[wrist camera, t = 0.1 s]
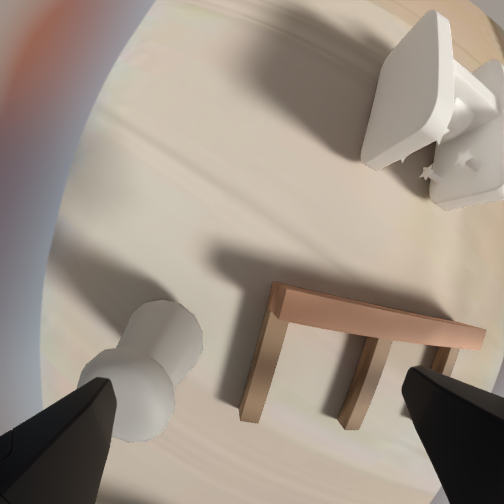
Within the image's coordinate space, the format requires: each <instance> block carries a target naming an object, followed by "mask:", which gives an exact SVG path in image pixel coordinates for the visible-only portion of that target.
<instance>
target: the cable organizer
mask: <svg viewBox="0 0 504 504" xmlns="http://www.w3.org/2000/svg"><path fill="white" fill-rule="evenodd" d="M434 141H436V148H435V155H434V162H433V164H431V165H430V166H429V167H428V168H426V167H423V173H422V174H421V176H420V177H424V178H425V181H426V179H427V177H429V178H430V179H431V181H430V187H429V194H430V199H431V201H432V202H433V203H434V204H436V205H437V206H439V207H440V208H442V209H443V210H445V211H449V210H454V209H459V208H464V207H470V206H475V205H480V204H485V203H491V202H496V201H501V200H504V66H503V65H502V64H501V63H500V62H499V61H497V60H494V59H493V60H490V61H488V62H486V63H485V64H484V65H482V66H481V67H479V68H478V69H476V70H475V71H473V72H472V73H470V72H469V71H467V70H466V69H465V68H464V67H463V66H461V65H460V64H459V63H458V62H457V61H455V60H454V59H453V51H452V39H451V29H450V23H449V21H448V19H446V18H445V17H444V16H442V15H441V14H439V13H438V12H437V11H435V10H429V11H428V12H427V13H426V14H425V15H424V16H423V17H422V18H421V19H420V20H419V21H418V22H417V23H416V25H415V26H414V27H413V28H412V29H411V30H410V31H409V32H408V33H407V35H406V36H405V37H404V38H403V39H402V40H401V41H400V42H399V44H398V45H397V46H396V47H395V48H394V49H393V50H392V51H391V53H390V54H389V55H388V56H387V58H386V59H385V61H384V63H383V66H382V68H381V71H380V75H379V80H378V85H377V89H376V93H375V98H374V102H373V106H372V110H371V114H370V118H369V122H368V126H367V130H366V134H365V138H364V142H363V145H362V149H361V162H362V164H364V165H366V166H368V167H370V168H372V169H374V170H375V171H378V170H381V169H382V168H384V167H386V166H388V165H390V164H392V163H394V162H396V161H398V160H401V161H402V163H403V162H404V160H405V158H406V157H407V156H408V155H410V154H411V153H413V152H415V151H417V150H419V149H421V148H423V147H424V146H426V145H428V144H430V143H432V142H434ZM432 165H433V169H432ZM420 177H419V178H420Z"/></svg>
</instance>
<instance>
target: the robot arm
mask: <svg viewBox="0 0 504 504" xmlns="http://www.w3.org/2000/svg"><path fill="white" fill-rule="evenodd" d="M402 395H403V398H404V400H405V403H406V405H407V408H408V411H409V413H410V416H411V419H412V421H413V424H414V427H415V429H416V431H417V433H418V435H419V437H420V439H421V442H422V444H423V446H424V448H425V450H426V452H427V454H428V456H429V458H430V460H431V462H432V465H433V467H434V469H435V471H436V473H437V475H438V478H439V480H440V482H441V484H442V487H443V489H444V491H445V493H446V496H447V498H448V500H449V503H450V504H504V398H503V397H500V396H498V395H495V394H492V393H490V392H487V391H484V390H482V389H479V388H476V387H474V386H471V385H469V384H466V383H464V382H461V381H458V380H456V379H453V378H451V377H448V376H446V375H443V374H441V373H438V372H436V371H433V370H431V369H429V368H426V367H424V366H420V365H419V366H414V367H411V368H410V369H409V370H408V372H407V374H406V377H405V380H404V383H403V385H402ZM116 408H117V399H116V396H115V392H114V389H113V385H112V382H111V380H110V379H109V378H104V377H95V378H94V379H92V380H91V381H89V382H87V383H86V384H84V385H83V386H81V387H79V388H78V389H76V390H75V391H73V392H72V393H70V394H68V395H67V396H65V397H64V398H62V399H60V400H59V401H57V402H56V403H54V404H52V405H51V406H49V407H48V408H46V409H44V410H43V411H41V412H39V413H38V414H36V415H35V416H33V417H31V418H30V419H28V420H26V421H25V422H23V423H21V424H20V425H18V426H16V427H15V428H13V430H10V431H8V432H7V433H5V434H3V435H2V436H0V504H95V502H96V498H97V493H98V489H99V486H100V482H101V478H102V474H103V470H104V467H105V463H106V460H107V456H108V452H109V448H110V443H111V437H112V431H113V425H114V419H115V414H116Z"/></svg>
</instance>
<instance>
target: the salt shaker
mask: <svg viewBox="0 0 504 504" xmlns="http://www.w3.org/2000/svg"><path fill="white" fill-rule="evenodd" d="M202 351H203V332H202V329H201V327H200V325H199V323H198V321H197V320H196V318H195V316H194V314H192V313H191V312H190V311H189V310H187V309H186V308H185V307H184V306H182V305H181V304H179V303H175V302H171V301H167V300H157V301H152V302H146V303H144V304H143V305H142V306H140V307H139V308H138V309H137V310H136V311H134V312H133V313H132V315H131V317H130V319H129V322H128V324H127V326H126V329H125V331H124V333H123V335H122V337H121V339H120V341H119V343H118V345H117V347H116V348H115V349H107V350H104V351H102V352H101V353H99V354H98V355H97V356H96V357H94V358H93V359H92V360H91V361H90V362H89V363H87V364H86V365H85V367H84V369H83V370H82V373H81V376H80V379H79V382H78V386H77V389H78V388H79V387H81V386H83V385H84V384H86V383H87V382H89V381H91V380H92V379H94V378H95V377H104V378H109V379H110V380H111V382H112V385H113V389H114V392H115V396H116V399H117V408H116V414H115V419H114V425H113V431H112V437H114V438H117V439H119V440H122V441H125V442H128V443H130V442H147V441H149V440H151V439H153V438H154V437H156V436H158V435H160V434H162V432H163V431H164V430H165V428H166V427H167V425H168V423H169V421H170V419H171V416H172V414H173V412H174V408H175V395H174V389H175V388H176V387H177V386H178V384H179V383H180V382H181V381H182V380H183V379H184V377H185V376H186V375H187V374H188V373H189V372H190V371H191V369H192V368H193V367H194V366H195V365H196V363H197V361H198V359H199V357H200V355H201V353H202Z"/></svg>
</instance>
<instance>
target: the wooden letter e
mask: <svg viewBox="0 0 504 504" xmlns="http://www.w3.org/2000/svg"><path fill="white" fill-rule="evenodd" d="M289 322H292V323H297V324H302V325H307V326H312V327H317V328H322V329H328V330H333V331H339V332H345V333H350V334H356V335H362V336H367V338H366V341H365V344H364V348H363V351H362V354H361V357H360V360H359V363H358V366H357V369H356V372H355V375H354V378H353V380H352V383H351V386H350V389H349V391H348V394H347V397H346V399H345V402H344V404H343V407H342V409H341V412H340V414H339V417H338V419H337V420H338V421H339V423H340V424H341V425H342V427H343V428H344V430H359V428H360V426H361V424H362V422H363V419H364V417H365V415H366V412H367V410H368V408H369V405H370V403H371V400H372V398H373V395H374V393H375V390H376V387H377V385H378V382H379V379H380V377H381V374H382V371H383V368H384V365H385V362H386V359H387V356H388V353H389V350H390V347H391V344H392V341H393V340H395V341H402V342H409V343H417V344H425V345H433V346H438V349H437V352H436V355H435V358H434V361H433V364H432V367H431V370H433V371H436V372H438V373H441V374H443V375H446V376H448V377H450V376H451V373H452V370H453V367H454V365H455V362H456V359H457V356H458V352H459V349H460V348H461V349H471V350H481V347H482V344H483V340H484V337H485V333H486V330H485V329H481V328H478V327H474V326H470V325H467V324H463V323H459V322H456V321H451V320H446V319H441V318H436V317H431V316H426V315H421V314H416V313H411V312H406V311H402V310H397V309H392V308H387V307H383V306H378V305H373V304H369V303H364V302H360V301H355V300H351V299H346V298H342V297H337V296H333V295H328V294H324V293H320V292H315V291H311V290H307V289H302V288H298V287H294V286H289V285H285V284H281V283H277V282H273V284H272V288H271V292H270V296H269V300H268V304H267V308H266V311H265V315H264V319H263V323H262V327H261V330H260V334H259V338H258V342H257V345H256V349H255V353H254V356H253V360H252V364H251V367H250V371H249V375H248V378H247V382H246V385H245V389H244V392H243V396H242V399H241V403H240V406H239V416H240V421H245V422H251V423H259V420H260V417H261V414H262V410H263V407H264V404H265V401H266V398H267V395H268V391H269V388H270V385H271V382H272V378H273V375H274V372H275V368H276V365H277V362H278V358H279V355H280V351H281V348H282V344H283V341H284V337H285V334H286V330H287V326H288V323H289ZM411 420H412V419H411Z"/></svg>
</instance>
